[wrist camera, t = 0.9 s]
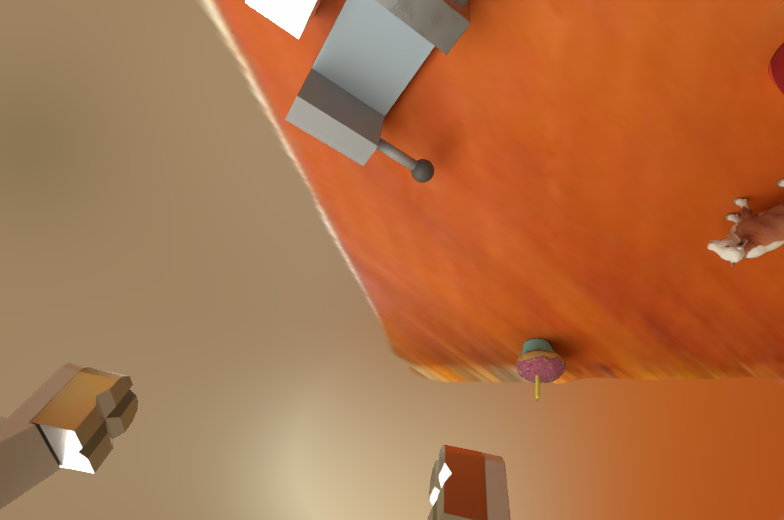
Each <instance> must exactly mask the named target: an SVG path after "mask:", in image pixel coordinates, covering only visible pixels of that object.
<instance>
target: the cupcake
mask: <svg viewBox="0 0 784 520" xmlns="http://www.w3.org/2000/svg"><path fill="white" fill-rule="evenodd" d="M565 367H566V364H565V361H564V360H563V358H562V357H561V356H560V355H559V354H557V353H556V352H554V351H553V349H552V347H551V345H550V344H549V342H548V341H546V340H544V339H538V338H537V339H531V340H528V341H526V342H525V343H524V345H523V350H522V353H521V356H520V357H519V358H518V360H517V363H516V368H517V370H518V372H519V374H520V375H521V377H523V378H524V379H526V380H529V381H531V382H536V399H537V402H538V399H540V390H539V389H540V385H539V383H542V382H544V383H547V382H552V381H554V380H556V379H558V378H559V377H560V376H561V375H562V374H563V372H564V370H565Z"/></svg>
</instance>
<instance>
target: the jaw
mask: <svg viewBox="0 0 784 520" xmlns="http://www.w3.org/2000/svg"><path fill="white" fill-rule="evenodd" d="M375 1H377V2H378V3H379V4H381V5H382V6H383V7H384V8H386V9H387V10H388V11H390V12H391V13H392V14H394V15H395V16H396V17H398V18H399V19H400V20H401V21H403V22H404V23H405V24H407V25H408V26H409V27H411V28H412V29H413V30H415V31H416V32H417V33H418V34H420V35H421V36H422V37H424V38H425V39H426V40H428V41H429V42H430V43H432V44H433V45H434V46H435V47H437V48H438V49H439V50H441V51H442V52H443V53H445V54H446V55H447V54H448V53H449V51H450V50H451V49H452V47H453V46H454V45H455V43H456V42H457V41H458V39H459V38H460V37H461V35H462V34H463V33H464V31H465V30H466V29H467V27H468V26H469V24H470V9H469V0H375Z"/></svg>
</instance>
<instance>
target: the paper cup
mask: <svg viewBox="0 0 784 520" xmlns="http://www.w3.org/2000/svg"><path fill="white" fill-rule="evenodd" d="M769 75H770V78H771V79H772V81H773V82H774V83H775V85H776V86H777V87H778V88H779V89H780V91H781V92H782V93H783V94H784V43H783V44H782V45H781V46H780V47H779V48H778V50H777V51H776V52H775V54H774V55H773V57H772V59H771V61H770V64H769Z"/></svg>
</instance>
